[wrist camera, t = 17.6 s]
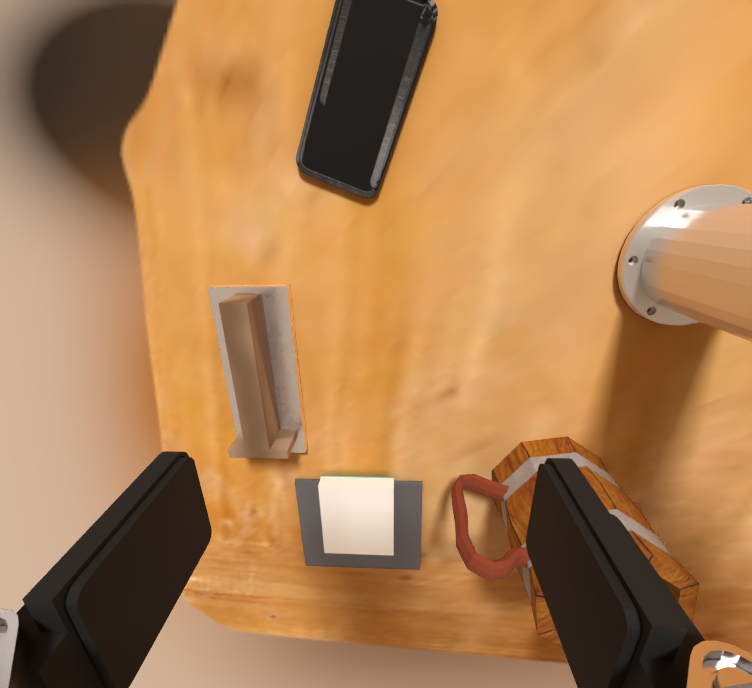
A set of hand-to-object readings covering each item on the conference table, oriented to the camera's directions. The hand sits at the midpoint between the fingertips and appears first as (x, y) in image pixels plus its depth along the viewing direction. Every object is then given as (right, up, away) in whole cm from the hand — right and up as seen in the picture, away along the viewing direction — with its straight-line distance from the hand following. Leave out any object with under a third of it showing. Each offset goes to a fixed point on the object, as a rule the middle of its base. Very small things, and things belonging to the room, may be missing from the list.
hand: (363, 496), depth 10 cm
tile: (-2, -12, +34) cm, 36 cm away
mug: (+18, -12, +34) cm, 41 cm away
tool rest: (-12, +1, +31) cm, 33 cm away
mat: (-2, -20, +38) cm, 43 cm away
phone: (-1, +25, +21) cm, 33 cm away
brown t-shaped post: (-12, +1, +30) cm, 32 cm away
